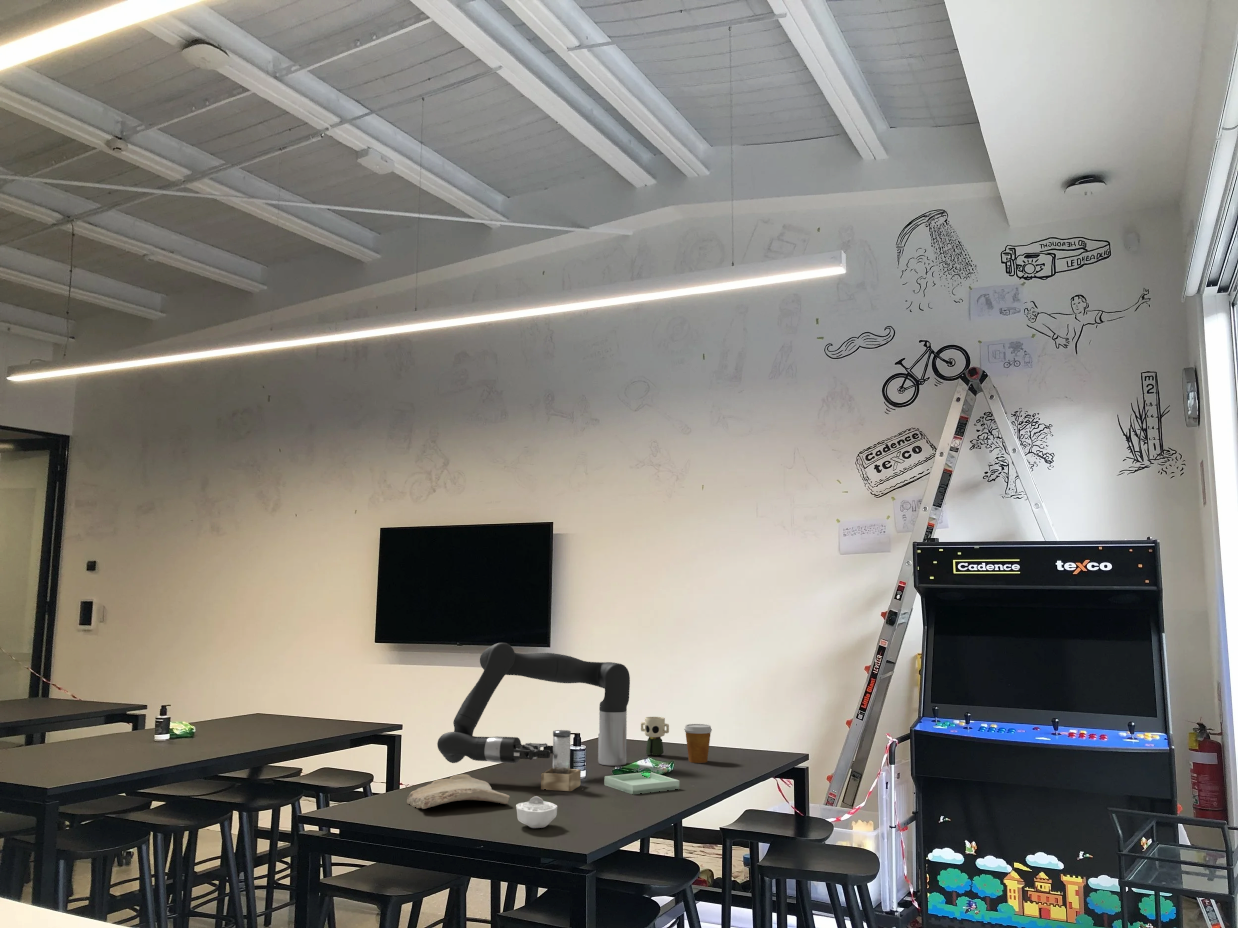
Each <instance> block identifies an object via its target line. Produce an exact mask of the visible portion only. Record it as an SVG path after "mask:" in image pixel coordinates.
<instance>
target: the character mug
mask: <svg viewBox="0 0 1238 928" xmlns="http://www.w3.org/2000/svg"><path fill="white" fill-rule="evenodd" d="M665 720H666V717H662V716H646V717H645V718H644V721H641V722H640V731H641V732H644V735H645V736H646V737H648V738H647V741H646V749H645V754H646V755H649V756H658V757H659V756H660V755H663V754H664V751H665V750H664V744H663V743H664V742H663V739H662V738H661V737H664V736H665V734H669V732H670V725H669V723H666V721H665Z"/></svg>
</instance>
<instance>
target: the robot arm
mask: <svg viewBox="0 0 1238 928" xmlns="http://www.w3.org/2000/svg"><path fill="white" fill-rule="evenodd" d="M479 664H480V666H481V669H483V671H482V673H481V676H480V677H479V678H478V680H477V682H476V683H475V684H474V686H473V688H471V690H470V692H469V693H468V694H467V696H466V697H465V699H464V701H463V702H462V703H461V705H460V707H459V709H458V710H457V713H456V714H455V717H454V719H453V728H454V729H453V731H449V732H448V731H447V732H444V734H441V736H439V738H438V740H437V743H436V744H437V750H438V751H439V753H440V754H441V755H442V756H443V758H445V760H446V761H447V762H449V763H452V764H457V763H459V762H461V761H462V760H463V759H464V758H465V757H467V758H469V759H470V760H472V761H477V762H491V763H496V764H498V763H501V764H517V763H518V762H520V760H529V761H530V760H533V759H534V760H536V759H549V758H551V754H552V755H553V745H548V743H546V742H545V743H538V742H537V743H536V742H535V743H534V742H533V743H532V742H525V743H524V744H522V743H521V742H522V741H521V739H520V738H519V737H517V736H514V737H513V736H474V735H473V734H474V731H475V729H476V728H477V725H478V723H479V721H480V719H481V717H482V715H483V714H484V711H485V709H486V707H487V705H488V704H489V702H490V700H491V698H492V696H493V695H494V693H495V691H496V689H497V688H498V686H499V684H500V683H501V682H502V680H503V678H504V677H505V676H516V677H517V676H519V677H525V678H528V679H529V678H530V679H533V680H538V681H539V680H540V681H544V682H551V683H557V684H585V685H586V684H587V685H590V686H595V687H599V688H601V689H604V696H603V699H602V700H601V701H600V702H599V710H598V711H599V713H598V715H599V717H598V718H599V723H598V724H599V728H598V730H599V732H598V739H597V741H598V742H597V745H598V746H597V747H598V748H597V751H598V752H597V762H598V764H599V765H603V766H624V765H626V764H627V734H628V733H627V731H628V730H627V722H628V721H627V718H628V716H627V715H628V713H627V712H628V711H627V709H628V708H627V707H628V705H629V701H630V690H631V689H630V687H631V675H630V671H629V670H628V668H627V667H626V665H624V664H622V663H620V662H611V661H610V662H609V661H604V662H602V661H600V662H599V661H587V660H583V659H579V658H577V657H574V656H571V655H567V654H562V653H561V654H560V653H554V652H534V653H533V652H532V653H520V652H515V650H514V648H513V647H512V646H511V645H510V644H509V643H507V642H498V643H495V644H493V645H491V646H489V647H487V648H486V649H484V650H483V651H482V653H481V654H480V657H479ZM541 748H543V749H541Z"/></svg>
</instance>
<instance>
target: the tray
mask: <svg viewBox="0 0 1238 928" xmlns="http://www.w3.org/2000/svg"><path fill="white" fill-rule="evenodd" d="M650 772H651V773H650V777H649V778H646V777H644V776H642V774H641V773H642V772H633V773H623V774H616V775H605V776H604V786H606V787H609V788H612V789H615V790H618V791H620V792H621V791H622V792H623V793H624V792H625V793H627V794H630V795H632V794H633V795H641V794H640V793H642V794H651V793H657V792H658V793H659V791H660V792H667V790H669V791H675V789H678V790H680V780H678V779H676V778H673V777H672V778H671V777H668V776H665V775H661V774H659V773H655V772H653V771H650ZM650 792H651V793H650Z"/></svg>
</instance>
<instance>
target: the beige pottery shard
mask: <svg viewBox="0 0 1238 928" xmlns="http://www.w3.org/2000/svg"><path fill="white" fill-rule="evenodd" d="M510 798H511V797H510V795H508V794H506V793H502V792H499V791H497V790H494V789H492V787H491V785H490V783H489V782H488V781H485V780H481V779H477V778H475V777H471V775H469V774H463V773H462V774H453V776H450V777H449V778H443V779H442V778H441V779H440V778H439V779H437V780H433V781H432V782H431V783H428V784H427V785H424V786H422V787H418V788H417V789H415V790H413V791H411V792H410V793H409V795H407V799H406V804H407V805H409V804H410V806H411V807H413V808H415V807H416V808H415V809H422V810H425V809H428V808H431V807H436V806H439V805H443V804H447V803H451V802H457V801H482V802H484V801H485V802H489V803H490V802H491V803H496V804H499V803H500V804H501V805H507V804H508V803H509V800H510Z"/></svg>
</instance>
